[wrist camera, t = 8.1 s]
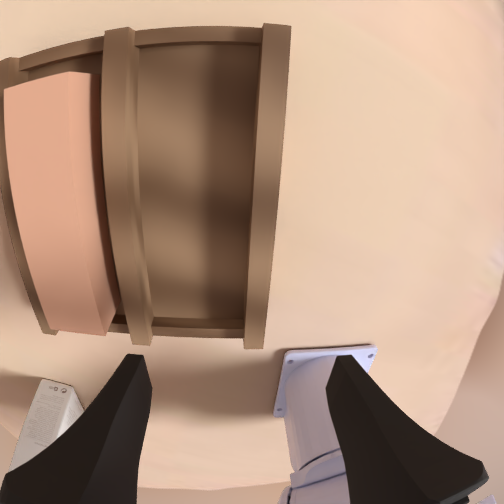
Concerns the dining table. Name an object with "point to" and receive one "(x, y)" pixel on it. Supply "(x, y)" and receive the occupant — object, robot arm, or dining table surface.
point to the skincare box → (46, 420)
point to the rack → (180, 172)
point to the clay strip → (62, 198)
